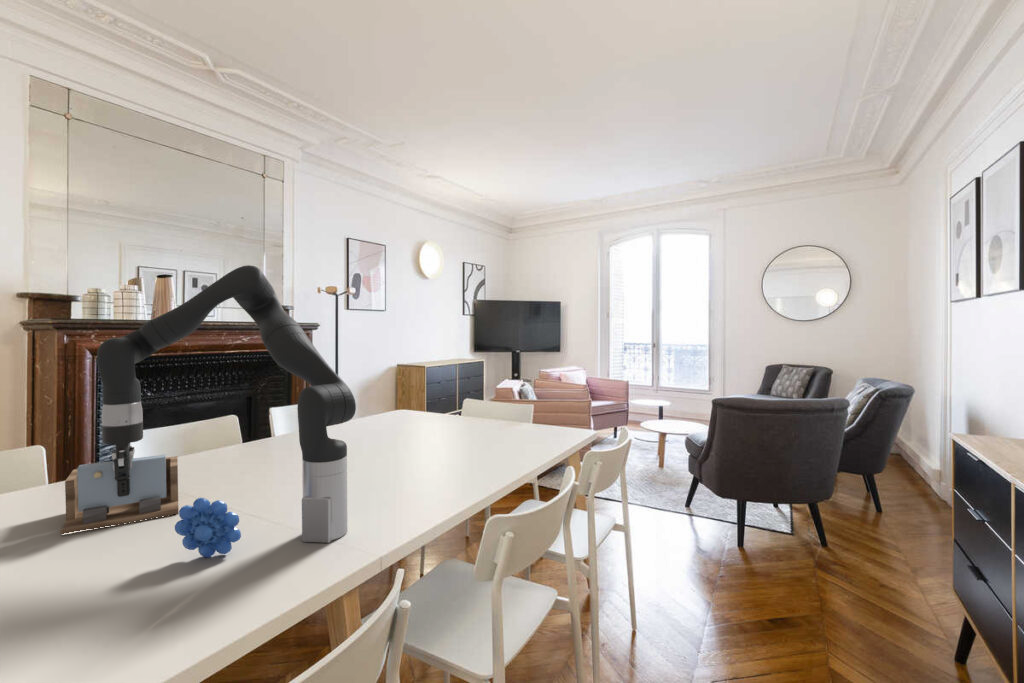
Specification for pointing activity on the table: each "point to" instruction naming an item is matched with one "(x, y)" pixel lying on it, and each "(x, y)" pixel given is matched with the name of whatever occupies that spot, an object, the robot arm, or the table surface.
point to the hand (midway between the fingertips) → (124, 493)
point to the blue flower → (208, 527)
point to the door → (102, 486)
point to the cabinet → (121, 512)
